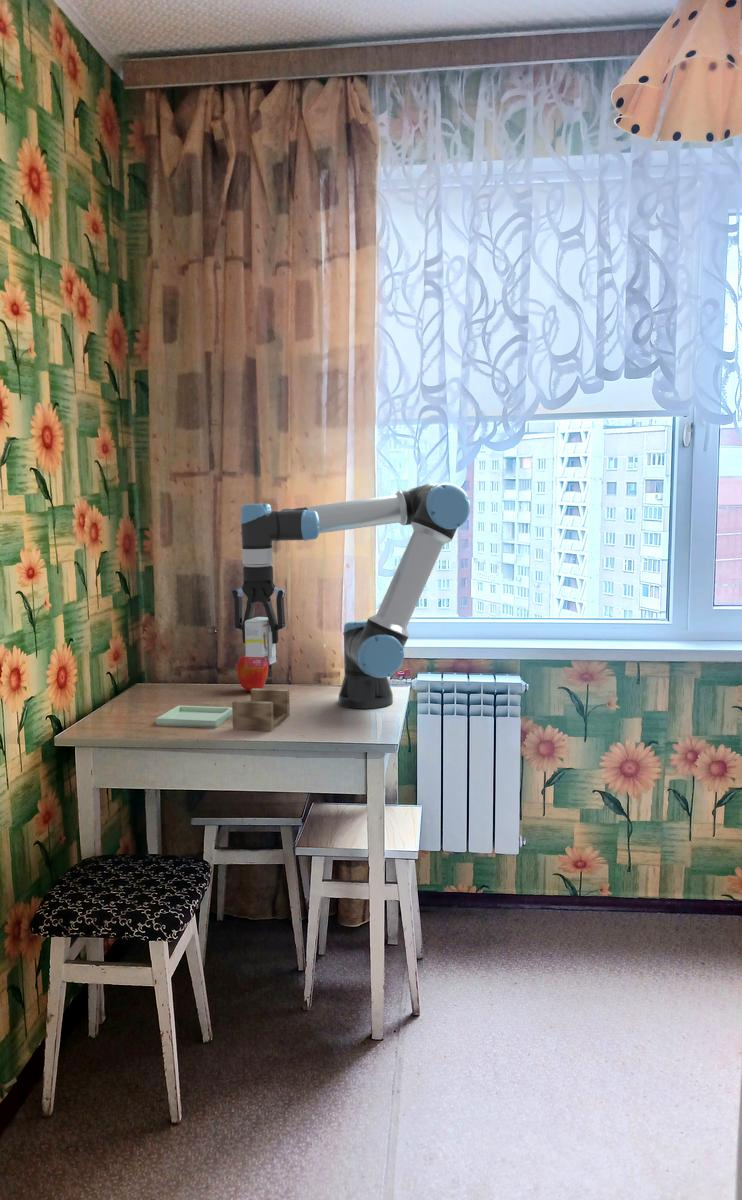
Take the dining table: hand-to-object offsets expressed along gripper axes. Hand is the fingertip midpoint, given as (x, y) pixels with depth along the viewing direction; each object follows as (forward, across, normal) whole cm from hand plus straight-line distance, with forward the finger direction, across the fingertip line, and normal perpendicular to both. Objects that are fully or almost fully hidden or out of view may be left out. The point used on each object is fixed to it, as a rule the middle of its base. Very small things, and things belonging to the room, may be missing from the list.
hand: (261, 655), depth 233 cm
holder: (+17, 0, 0) cm, 17 cm away
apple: (+18, +14, -34) cm, 41 cm away
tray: (+17, +18, 0) cm, 25 cm away
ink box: (+3, 0, 0) cm, 3 cm away
